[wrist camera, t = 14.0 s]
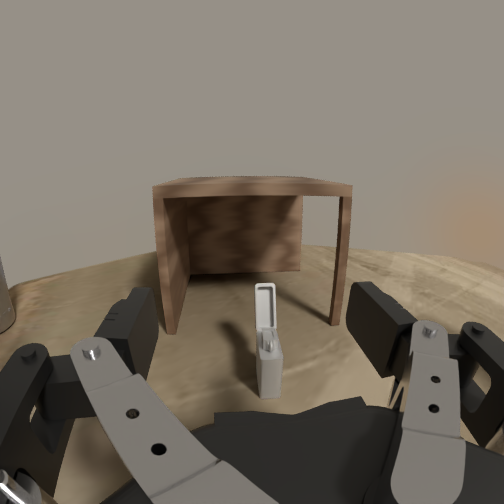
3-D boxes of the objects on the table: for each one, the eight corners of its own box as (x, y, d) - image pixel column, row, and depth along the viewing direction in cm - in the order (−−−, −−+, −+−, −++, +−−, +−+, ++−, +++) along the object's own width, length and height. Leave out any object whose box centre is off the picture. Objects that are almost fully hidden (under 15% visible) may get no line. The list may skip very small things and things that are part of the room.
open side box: (167, 334, 31) (152, 186, 26) (185, 272, 50) (180, 178, 45) (338, 324, 33) (352, 185, 28) (298, 268, 52) (301, 176, 47)
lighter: (280, 397, 22) (286, 316, 20) (259, 399, 22) (261, 317, 19) (270, 350, 29) (273, 277, 26) (253, 350, 29) (254, 278, 26)
